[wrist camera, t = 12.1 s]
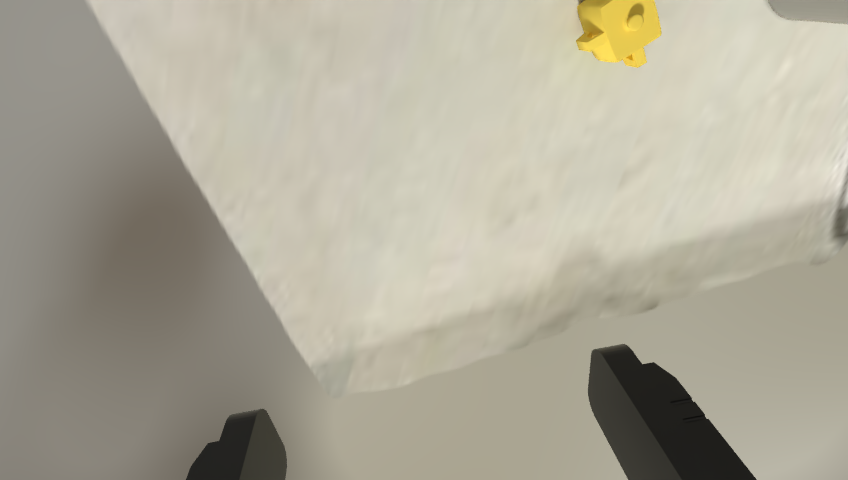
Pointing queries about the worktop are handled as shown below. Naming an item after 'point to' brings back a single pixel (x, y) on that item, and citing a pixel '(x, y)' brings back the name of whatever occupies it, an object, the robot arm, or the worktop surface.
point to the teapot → (618, 29)
